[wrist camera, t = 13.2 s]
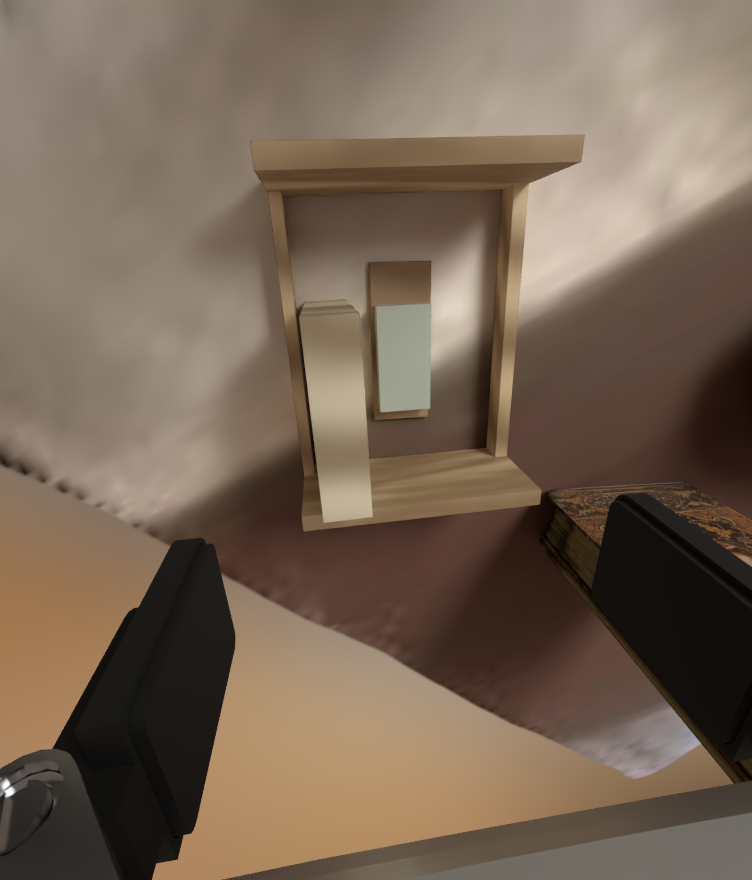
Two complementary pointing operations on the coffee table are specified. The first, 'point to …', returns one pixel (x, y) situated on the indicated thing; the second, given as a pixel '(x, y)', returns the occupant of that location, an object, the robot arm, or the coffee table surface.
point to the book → (579, 544)
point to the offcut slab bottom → (396, 288)
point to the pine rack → (511, 169)
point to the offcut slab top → (403, 356)
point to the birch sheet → (337, 407)
